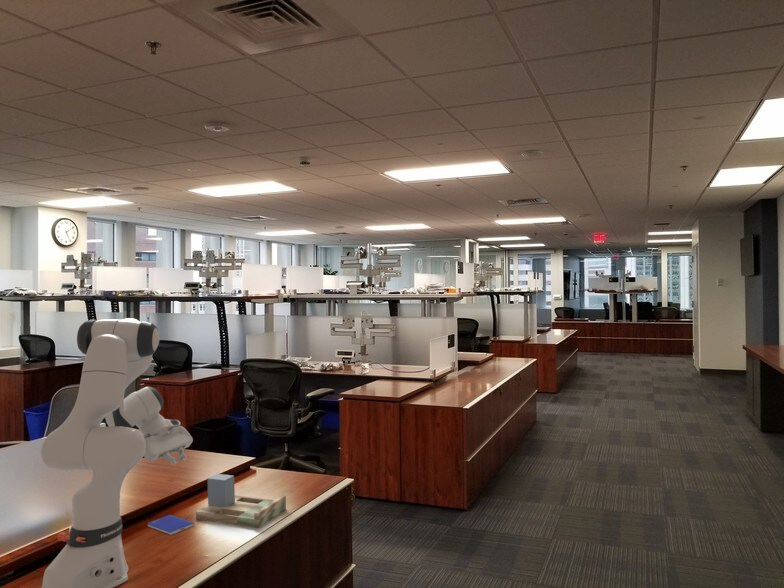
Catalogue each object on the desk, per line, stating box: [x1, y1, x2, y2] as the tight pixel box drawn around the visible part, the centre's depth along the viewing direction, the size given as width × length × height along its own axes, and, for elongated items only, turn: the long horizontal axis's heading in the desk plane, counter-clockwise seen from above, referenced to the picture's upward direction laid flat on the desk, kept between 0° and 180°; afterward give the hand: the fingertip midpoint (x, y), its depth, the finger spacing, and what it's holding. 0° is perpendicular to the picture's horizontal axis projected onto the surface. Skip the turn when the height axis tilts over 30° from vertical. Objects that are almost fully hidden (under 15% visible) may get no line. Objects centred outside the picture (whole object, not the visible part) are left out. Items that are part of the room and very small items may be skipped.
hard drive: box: [147, 514, 195, 536], centre depth 182 cm, size 2×8×12 cm
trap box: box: [195, 494, 287, 529], centre depth 191 cm, size 16×24×4 cm, turn 69°
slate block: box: [206, 473, 236, 508], centre depth 194 cm, size 5×7×9 cm
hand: (180, 461), depth 199 cm, fingers open, 3 cm apart
